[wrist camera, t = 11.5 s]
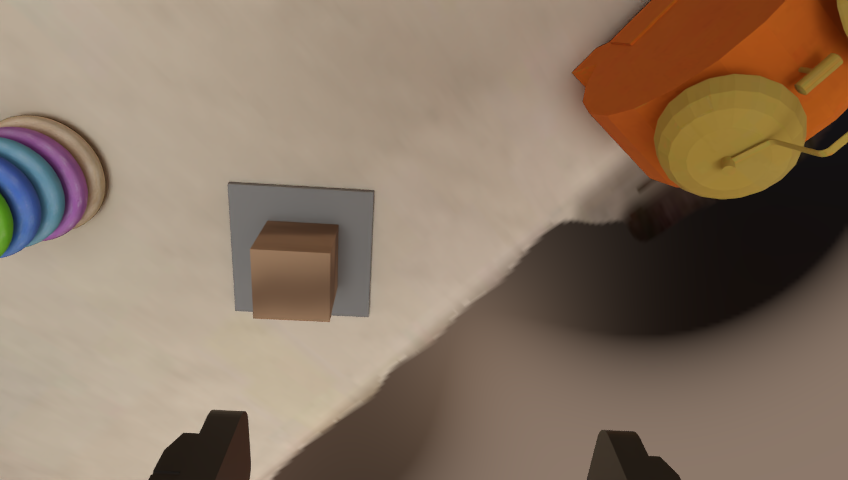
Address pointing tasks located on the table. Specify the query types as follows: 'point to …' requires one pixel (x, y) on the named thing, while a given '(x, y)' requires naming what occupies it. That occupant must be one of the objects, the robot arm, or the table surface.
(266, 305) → the cube
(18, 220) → the stacking toy
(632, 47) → the alarm clock
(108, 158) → the table surface
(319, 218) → the mat
